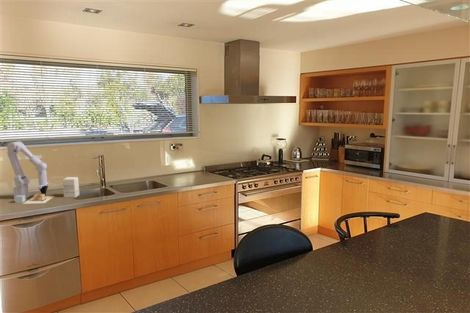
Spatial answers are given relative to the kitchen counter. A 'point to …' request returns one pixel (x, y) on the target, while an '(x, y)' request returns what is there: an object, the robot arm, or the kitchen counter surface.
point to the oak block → (39, 197)
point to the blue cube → (20, 199)
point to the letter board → (38, 201)
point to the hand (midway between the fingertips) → (43, 195)
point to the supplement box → (71, 187)
